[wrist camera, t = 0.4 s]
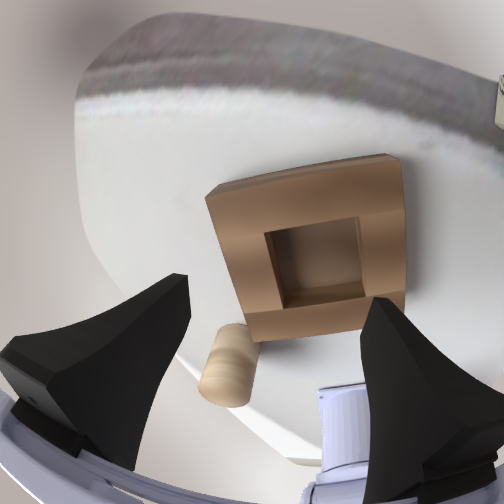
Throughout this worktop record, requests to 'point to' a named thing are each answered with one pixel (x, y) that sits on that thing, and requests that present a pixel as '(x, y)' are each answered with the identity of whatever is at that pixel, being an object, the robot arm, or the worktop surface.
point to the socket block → (313, 244)
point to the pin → (230, 367)
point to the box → (500, 104)
